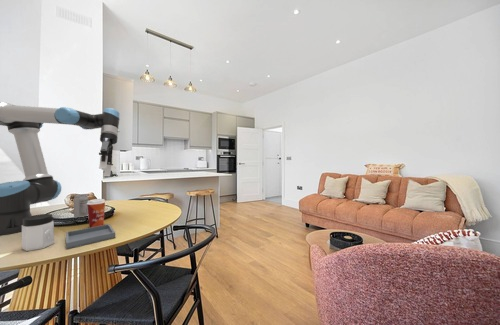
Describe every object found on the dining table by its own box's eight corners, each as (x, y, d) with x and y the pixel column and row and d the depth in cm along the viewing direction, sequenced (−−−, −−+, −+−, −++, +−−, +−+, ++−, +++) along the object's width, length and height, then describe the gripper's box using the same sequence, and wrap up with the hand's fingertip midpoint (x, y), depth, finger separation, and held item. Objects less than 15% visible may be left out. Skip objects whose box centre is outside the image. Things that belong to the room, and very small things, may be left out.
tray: (66, 249, 75) (66, 243, 75) (65, 237, 86) (65, 232, 86) (115, 237, 87) (115, 232, 87) (109, 228, 97) (109, 223, 97)
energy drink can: (83, 219, 111) (83, 193, 111) (91, 220, 110) (90, 194, 109) (71, 222, 106) (70, 195, 105) (79, 223, 104) (78, 196, 104)
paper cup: (95, 230, 95) (95, 202, 95) (82, 229, 96) (82, 201, 96) (109, 225, 103) (109, 199, 102) (98, 223, 104) (97, 198, 104)
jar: (37, 251, 74) (37, 220, 73) (15, 251, 73) (14, 220, 73) (59, 241, 83) (59, 213, 82) (39, 241, 82) (39, 213, 82)
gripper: (114, 124, 96) (110, 164, 90) (119, 145, 117) (116, 179, 110) (96, 122, 93) (90, 164, 86) (104, 144, 113) (100, 179, 107)
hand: (105, 172), depth 98 cm, fingers open, 13 cm apart
